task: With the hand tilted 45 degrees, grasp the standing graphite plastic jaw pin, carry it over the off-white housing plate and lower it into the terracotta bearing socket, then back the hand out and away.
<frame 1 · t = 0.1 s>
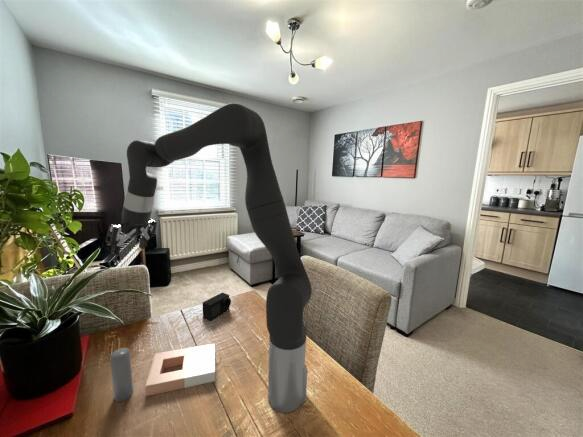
hand: (129, 251, 79), 31 cm above the table, tool tilted 20°, fingers open, 8 cm apart
digital camera: (217, 314, 100), on the table
jaw pin: (123, 394, 63), on the table
housing: (184, 371, 71), on the table
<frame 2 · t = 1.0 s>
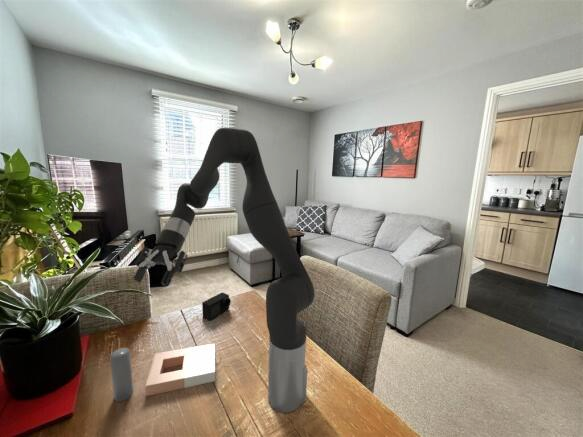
hand: (150, 283, 69), 26 cm above the table, tool tilted 45°, fingers open, 8 cm apart
nothing on the table moved.
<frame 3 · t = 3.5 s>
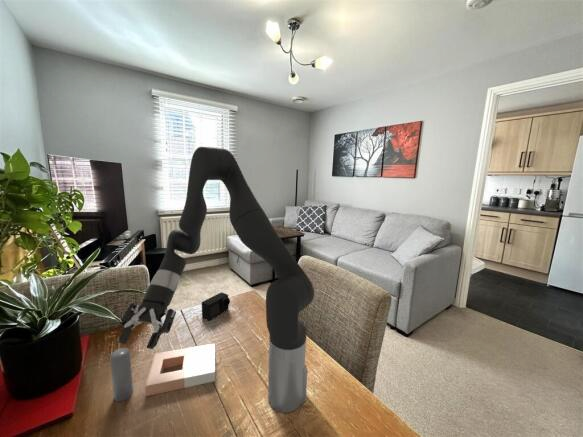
hand: (135, 346, 66), 10 cm above the table, tool tilted 45°, fingers open, 8 cm apart
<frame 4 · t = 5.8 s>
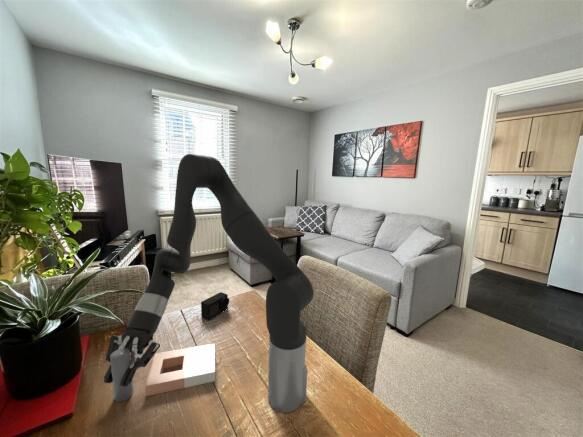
hand: (115, 384, 60), 5 cm above the table, tool tilted 45°, fingers closed on jaw pin, 4 cm apart
jaw pin: (123, 394, 63), on the table, touching gripper
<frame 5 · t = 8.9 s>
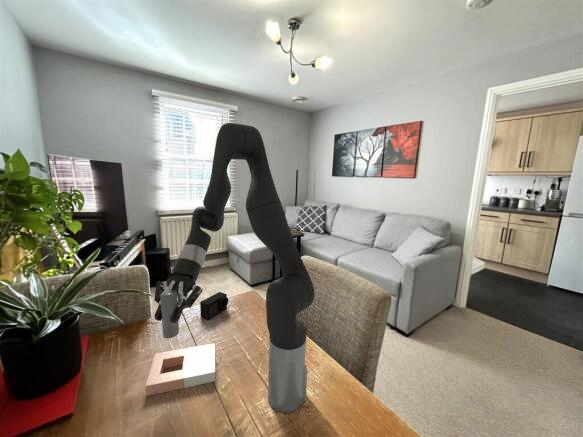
hand: (165, 321, 65), 18 cm above the table, tool tilted 45°, fingers closed on jaw pin, 4 cm apart
jaw pin: (170, 333, 68), point 13 cm above the table, touching gripper
when the fingers open (6 cm above the table, at t = 12.3 s): jaw pin stays where it is, resting in housing.
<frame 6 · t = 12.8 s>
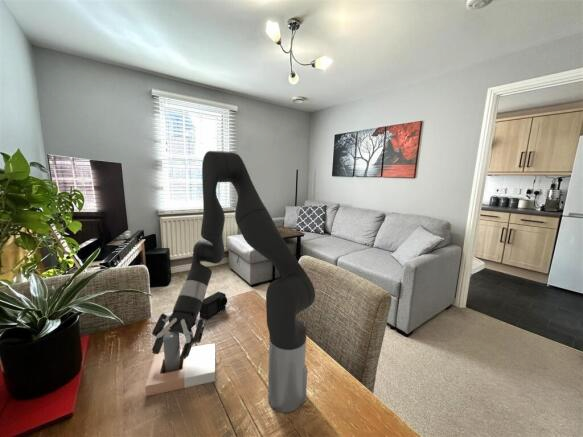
hand: (168, 356, 67), 7 cm above the table, tool tilted 45°, fingers open, 8 cm apart
jaw pin: (173, 373, 70), resting in housing
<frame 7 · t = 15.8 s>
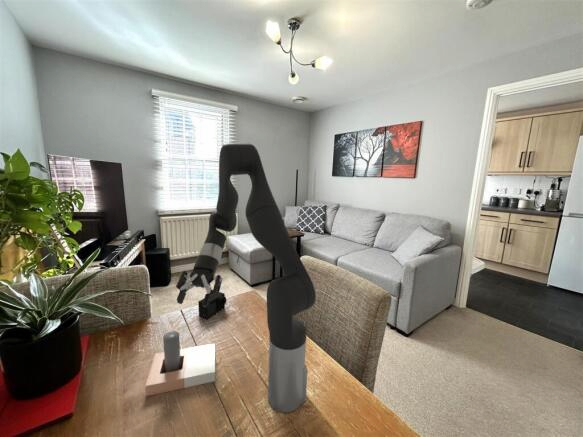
hand: (191, 304, 77), 16 cm above the table, tool tilted 45°, fingers open, 8 cm apart
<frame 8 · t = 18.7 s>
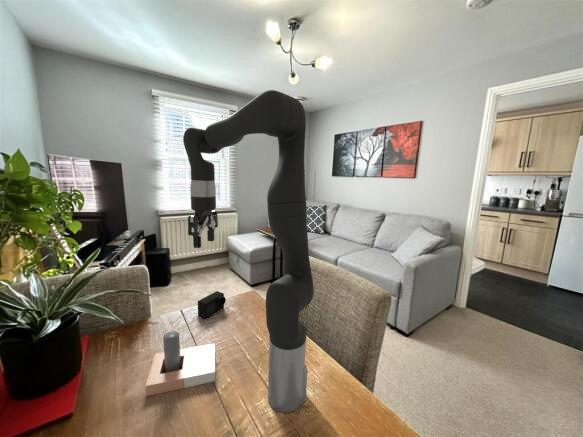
hand: (204, 244, 80), 34 cm above the table, tool pointing down, fingers open, 8 cm apart
at the end: jaw pin 0.1 cm from the target spot on the housing, point 0.0 cm above the housing's base; jaw pin tilted 0°; the gripper is holding nothing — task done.
